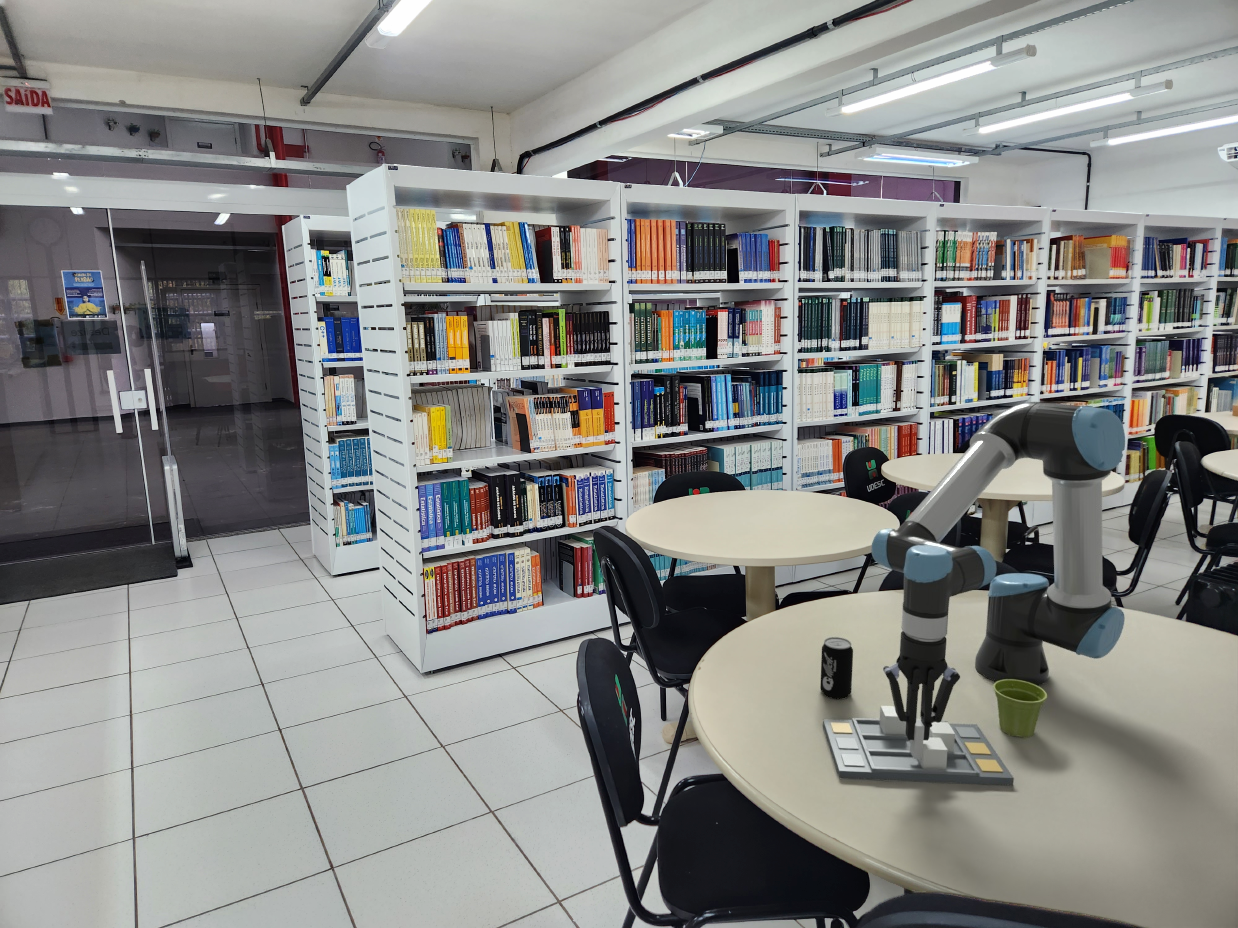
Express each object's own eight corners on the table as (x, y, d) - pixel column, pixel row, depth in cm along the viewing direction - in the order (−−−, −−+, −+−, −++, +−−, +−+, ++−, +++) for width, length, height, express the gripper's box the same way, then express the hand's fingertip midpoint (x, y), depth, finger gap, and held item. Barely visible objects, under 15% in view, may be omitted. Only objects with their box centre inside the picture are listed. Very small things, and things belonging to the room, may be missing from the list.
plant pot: (1022, 747, 146) (1026, 706, 145) (979, 725, 155) (983, 685, 153) (1053, 735, 151) (1057, 694, 149) (1010, 713, 159) (1013, 675, 157)
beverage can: (852, 701, 165) (854, 649, 162) (821, 699, 166) (822, 647, 164) (849, 687, 171) (851, 637, 169) (819, 685, 172) (821, 635, 170)
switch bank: (976, 731, 152) (977, 721, 152) (1013, 785, 135) (1014, 774, 134) (822, 725, 155) (823, 716, 155) (839, 778, 138) (839, 767, 137)
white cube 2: (946, 741, 146) (948, 722, 145) (953, 753, 142) (955, 733, 141) (925, 740, 146) (926, 721, 146) (931, 752, 142) (932, 732, 142)
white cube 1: (900, 724, 152) (901, 706, 151) (905, 735, 148) (906, 716, 148) (879, 723, 153) (880, 705, 152) (884, 734, 149) (885, 715, 148)
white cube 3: (939, 757, 141) (940, 737, 140) (945, 770, 137) (947, 749, 136) (916, 756, 141) (917, 736, 140) (922, 769, 137) (924, 748, 137)
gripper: (954, 625, 138) (946, 744, 142) (880, 623, 139) (874, 742, 143) (969, 643, 130) (960, 768, 135) (890, 641, 132) (884, 765, 136)
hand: (915, 754), depth 139 cm, fingers closed
